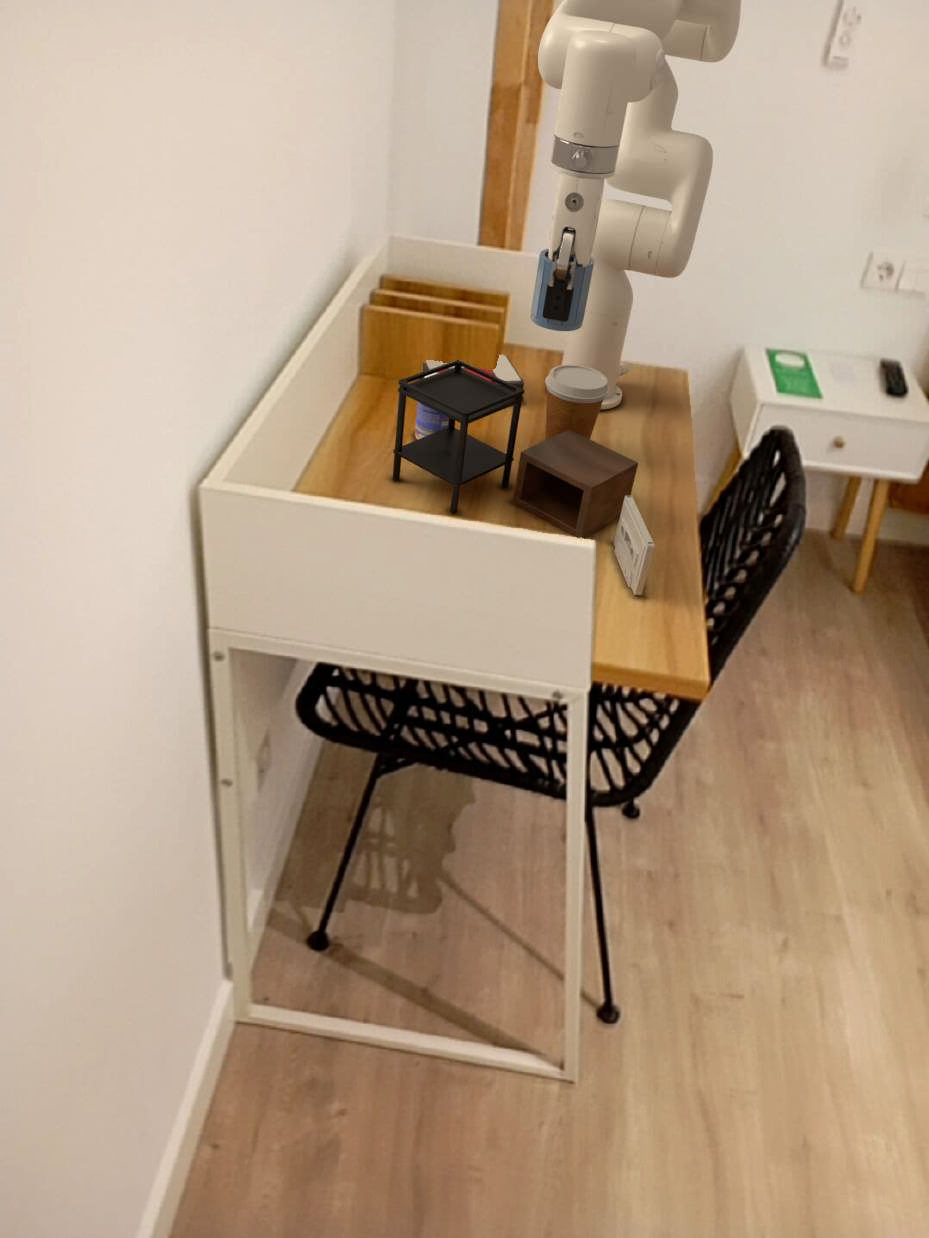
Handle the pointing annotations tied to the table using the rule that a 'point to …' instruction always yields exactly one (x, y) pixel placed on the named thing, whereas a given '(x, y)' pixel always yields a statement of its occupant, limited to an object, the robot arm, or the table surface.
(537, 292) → the blue cup
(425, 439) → the tray
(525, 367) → the table surface
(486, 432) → the table surface
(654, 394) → the table surface
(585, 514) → the shelf
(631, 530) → the cassette
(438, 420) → the pill bottle
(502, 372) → the calculator
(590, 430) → the disposable coffee cup
